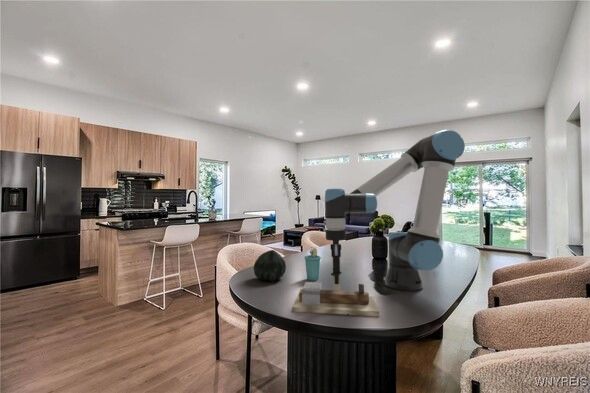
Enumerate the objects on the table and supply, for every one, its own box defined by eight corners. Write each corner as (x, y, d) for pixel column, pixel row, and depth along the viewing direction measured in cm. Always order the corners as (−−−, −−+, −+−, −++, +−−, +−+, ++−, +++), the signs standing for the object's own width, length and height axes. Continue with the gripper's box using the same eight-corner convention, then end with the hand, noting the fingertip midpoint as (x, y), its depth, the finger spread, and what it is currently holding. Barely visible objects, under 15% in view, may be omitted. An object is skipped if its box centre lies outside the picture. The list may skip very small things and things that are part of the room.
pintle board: (373, 300, 102) (373, 296, 102) (379, 316, 88) (379, 311, 88) (298, 297, 106) (298, 293, 106) (292, 311, 92) (292, 306, 92)
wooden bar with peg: (368, 299, 98) (367, 282, 98) (369, 305, 93) (369, 287, 93) (300, 296, 102) (300, 280, 102) (298, 301, 97) (298, 284, 97)
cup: (319, 284, 123) (319, 250, 123) (302, 283, 124) (302, 250, 125) (321, 276, 137) (321, 245, 137) (306, 275, 138) (305, 245, 138)
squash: (259, 263, 142) (255, 244, 133) (288, 264, 141) (286, 245, 131) (253, 287, 132) (248, 269, 122) (284, 289, 130) (282, 271, 120)
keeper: (321, 296, 103) (321, 282, 103) (319, 306, 93) (319, 291, 93) (305, 295, 104) (305, 282, 104) (302, 305, 94) (302, 290, 94)
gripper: (325, 227, 112) (327, 286, 111) (325, 231, 99) (326, 297, 99) (344, 227, 111) (345, 286, 110) (346, 231, 98) (347, 298, 98)
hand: (336, 291), depth 104 cm, fingers closed
